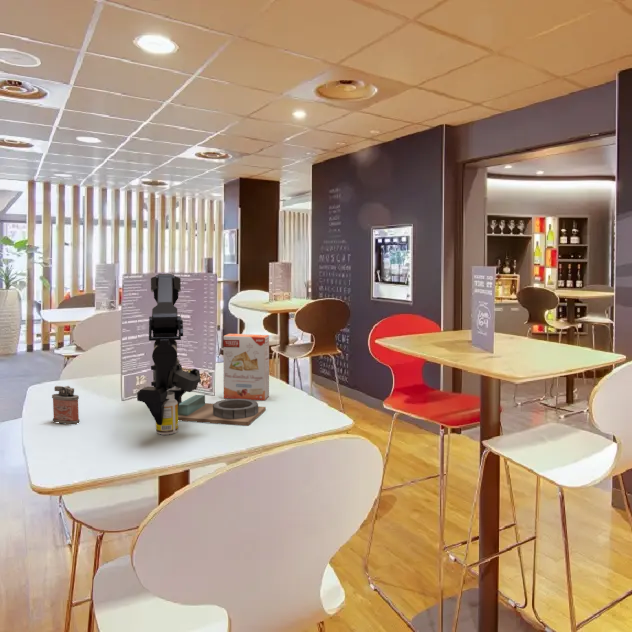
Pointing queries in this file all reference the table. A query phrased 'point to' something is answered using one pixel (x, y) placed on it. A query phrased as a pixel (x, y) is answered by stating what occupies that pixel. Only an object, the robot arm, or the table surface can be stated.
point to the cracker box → (246, 366)
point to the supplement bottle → (169, 416)
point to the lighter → (65, 405)
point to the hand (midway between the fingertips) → (166, 420)
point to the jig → (219, 411)
